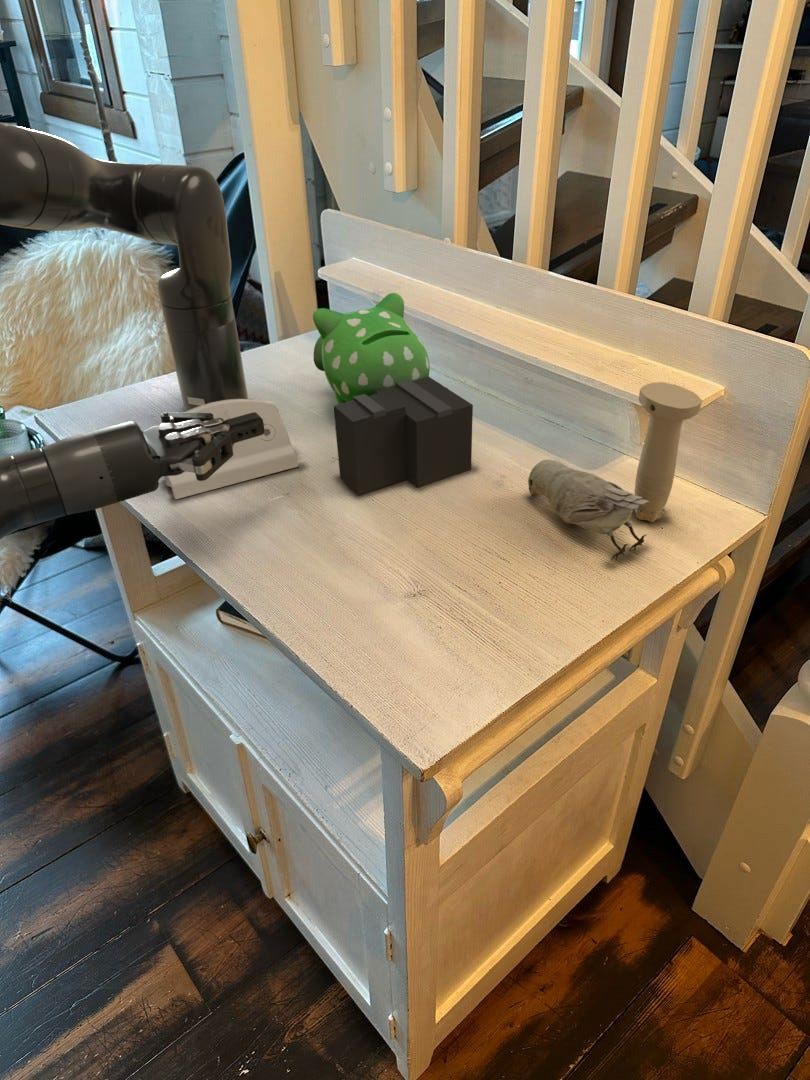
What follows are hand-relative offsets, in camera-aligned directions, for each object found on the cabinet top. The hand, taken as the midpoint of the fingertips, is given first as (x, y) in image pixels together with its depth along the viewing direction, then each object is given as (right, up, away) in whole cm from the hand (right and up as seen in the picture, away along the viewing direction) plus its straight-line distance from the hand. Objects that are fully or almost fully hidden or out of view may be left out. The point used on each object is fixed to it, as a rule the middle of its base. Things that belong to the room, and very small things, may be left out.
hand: (260, 422), depth 83 cm
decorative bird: (+36, -11, +2) cm, 38 cm away
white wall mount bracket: (-7, -4, +15) cm, 17 cm away
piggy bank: (+11, +6, +28) cm, 31 cm away
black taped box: (+18, -3, +15) cm, 24 cm away
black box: (+12, -5, +12) cm, 18 cm away
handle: (+44, -10, +4) cm, 45 cm away
